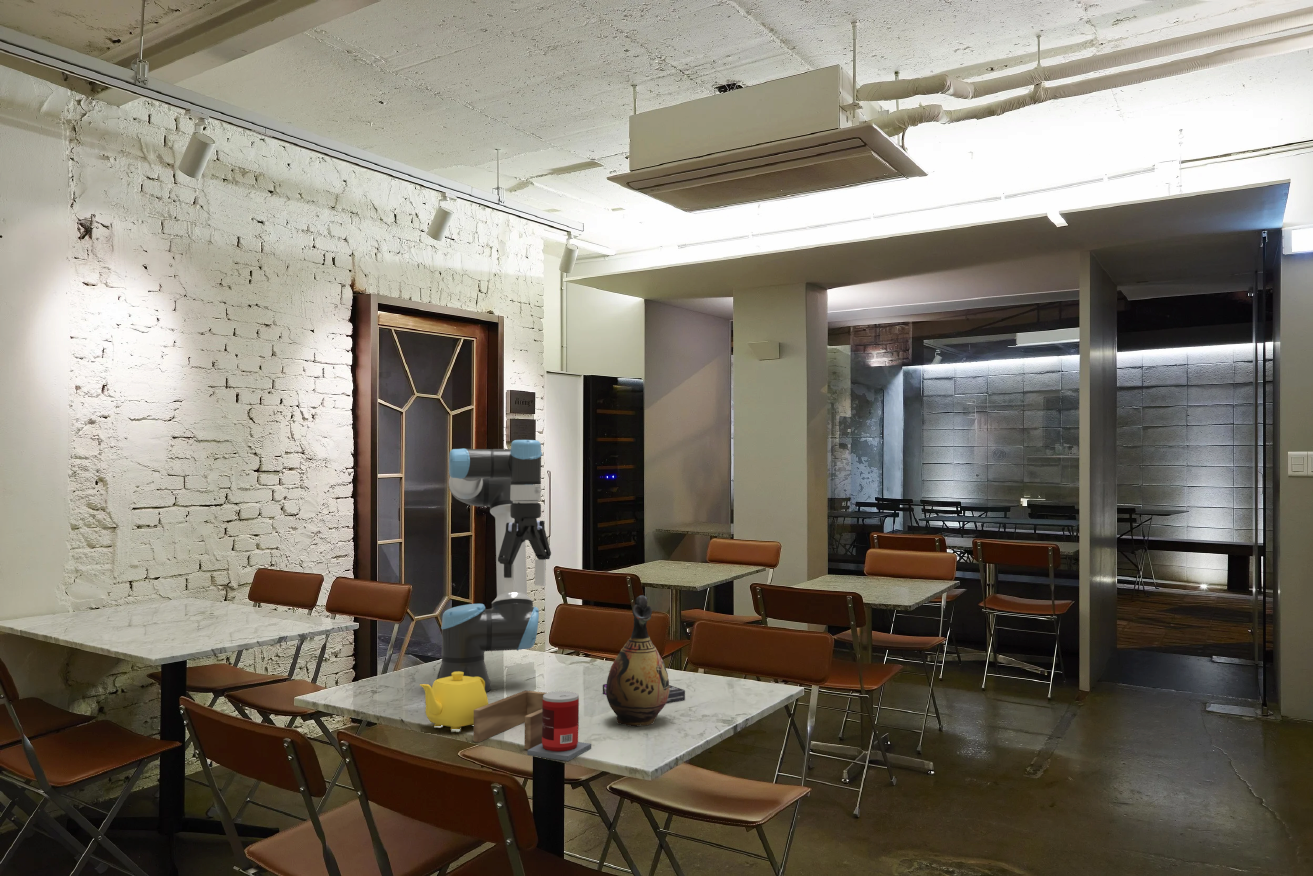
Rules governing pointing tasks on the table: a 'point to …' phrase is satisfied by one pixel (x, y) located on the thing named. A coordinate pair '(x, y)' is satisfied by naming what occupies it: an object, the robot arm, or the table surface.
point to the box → (673, 696)
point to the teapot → (454, 700)
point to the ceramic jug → (638, 675)
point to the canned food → (560, 720)
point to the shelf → (511, 717)
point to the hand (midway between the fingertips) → (525, 588)
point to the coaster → (559, 752)
